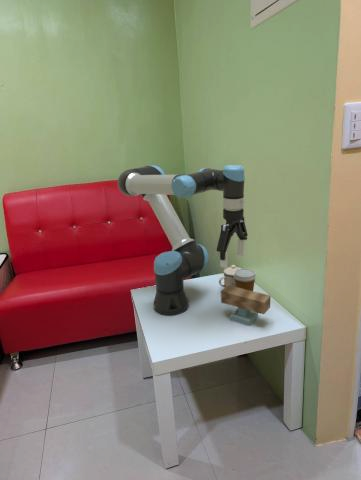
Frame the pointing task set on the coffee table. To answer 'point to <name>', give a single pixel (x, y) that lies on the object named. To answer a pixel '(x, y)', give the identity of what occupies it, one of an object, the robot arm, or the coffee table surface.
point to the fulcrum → (244, 316)
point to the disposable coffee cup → (245, 279)
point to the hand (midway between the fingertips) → (232, 260)
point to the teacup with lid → (229, 276)
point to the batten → (245, 299)
